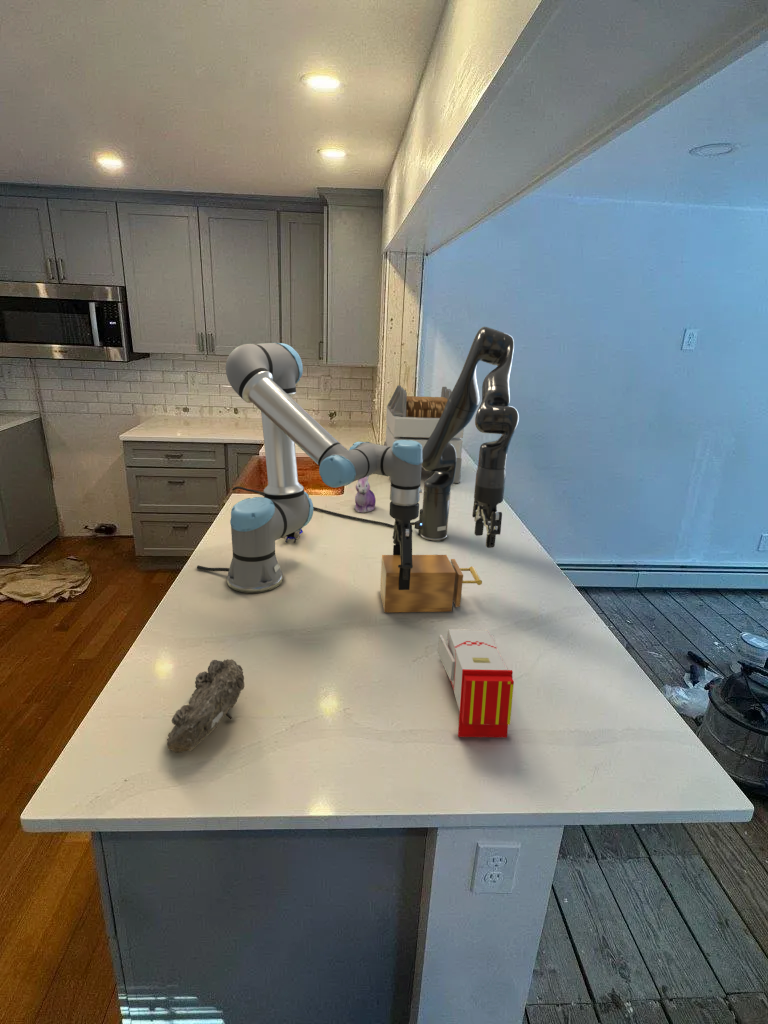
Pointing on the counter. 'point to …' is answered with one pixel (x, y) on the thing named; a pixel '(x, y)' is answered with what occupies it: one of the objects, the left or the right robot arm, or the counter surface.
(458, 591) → the drawer
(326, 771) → the counter surface
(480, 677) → the toy
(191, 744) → the fossil
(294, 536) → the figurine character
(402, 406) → the grey boxy piece
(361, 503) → the figurine
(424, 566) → the cabinet
